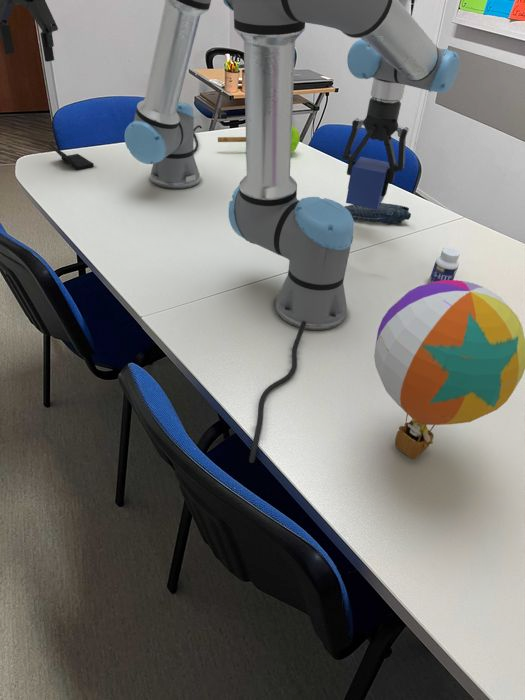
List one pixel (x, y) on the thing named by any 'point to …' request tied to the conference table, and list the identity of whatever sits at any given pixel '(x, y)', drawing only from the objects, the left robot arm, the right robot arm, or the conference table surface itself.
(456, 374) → the toy
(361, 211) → the fish model
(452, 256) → the pill bottle
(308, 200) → the right robot arm
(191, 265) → the conference table surface
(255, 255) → the conference table surface
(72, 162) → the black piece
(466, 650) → the conference table surface
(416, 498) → the conference table surface
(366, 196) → the block
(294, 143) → the decorative tree
